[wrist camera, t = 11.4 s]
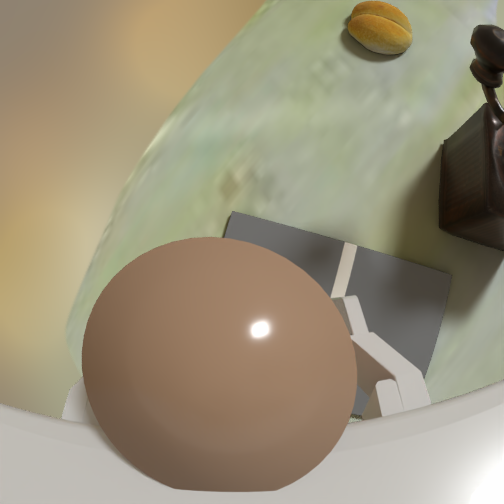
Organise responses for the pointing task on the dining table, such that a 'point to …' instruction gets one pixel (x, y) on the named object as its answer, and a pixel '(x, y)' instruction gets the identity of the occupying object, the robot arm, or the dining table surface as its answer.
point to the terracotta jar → (219, 367)
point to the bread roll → (380, 27)
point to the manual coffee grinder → (477, 154)
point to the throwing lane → (362, 285)
